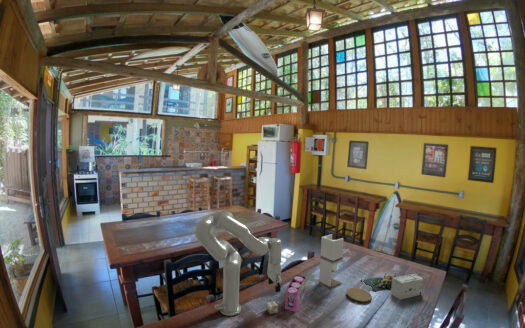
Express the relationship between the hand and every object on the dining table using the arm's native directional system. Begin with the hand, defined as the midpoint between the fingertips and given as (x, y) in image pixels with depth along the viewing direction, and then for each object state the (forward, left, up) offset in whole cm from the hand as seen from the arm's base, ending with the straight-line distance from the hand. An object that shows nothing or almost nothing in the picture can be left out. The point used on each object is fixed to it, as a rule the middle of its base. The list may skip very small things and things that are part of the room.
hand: (274, 287), depth 161 cm
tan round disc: (+60, -6, -15) cm, 63 cm away
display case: (+52, +15, -15) cm, 56 cm away
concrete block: (+94, -15, -15) cm, 96 cm away
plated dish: (+93, +2, -16) cm, 94 cm away
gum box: (+17, +4, -15) cm, 23 cm away
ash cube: (-1, 0, -15) cm, 15 cm away
